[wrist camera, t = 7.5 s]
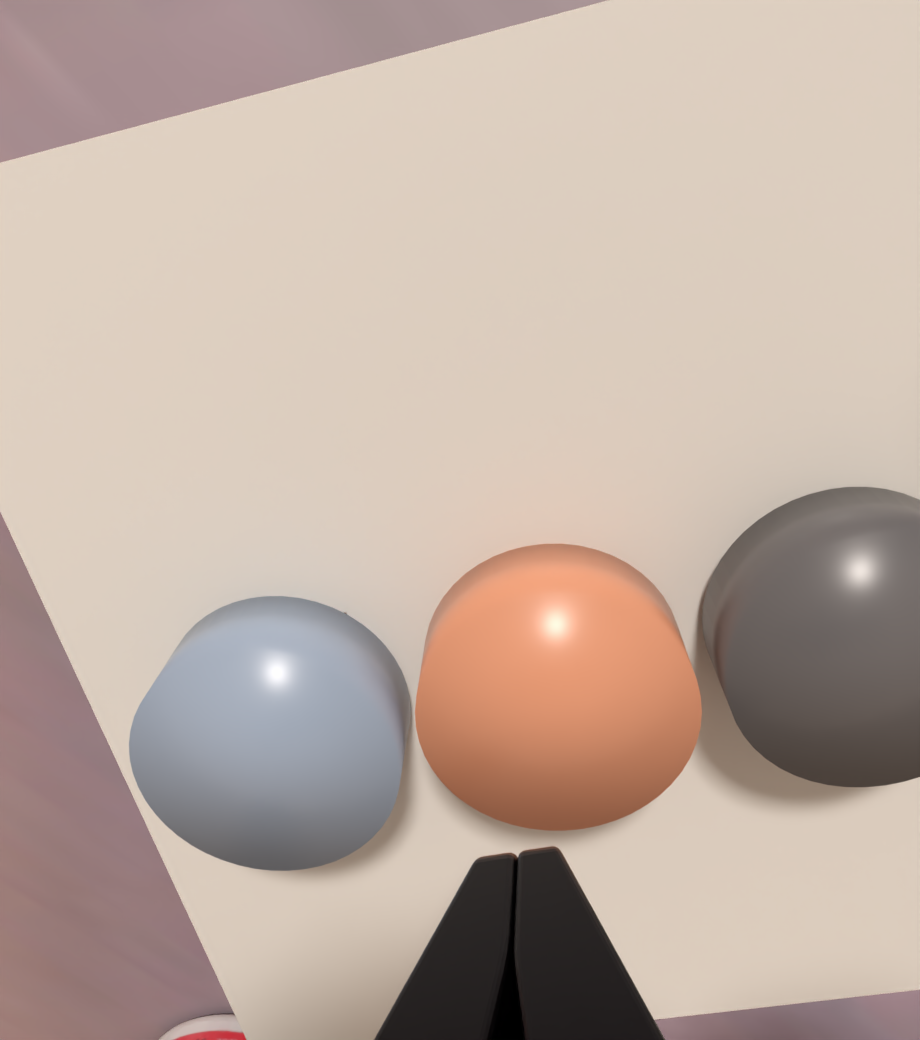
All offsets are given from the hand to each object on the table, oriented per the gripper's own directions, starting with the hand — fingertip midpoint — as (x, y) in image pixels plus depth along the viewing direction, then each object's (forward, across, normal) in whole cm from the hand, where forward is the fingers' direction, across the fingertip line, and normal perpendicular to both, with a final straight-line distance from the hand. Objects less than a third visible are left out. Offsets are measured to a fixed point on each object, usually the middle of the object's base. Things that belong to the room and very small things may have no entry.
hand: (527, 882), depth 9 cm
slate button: (+9, +5, +2) cm, 10 cm away
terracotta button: (+9, 0, +2) cm, 9 cm away
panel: (+9, 0, +2) cm, 9 cm away
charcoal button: (+9, -5, +2) cm, 10 cm away
